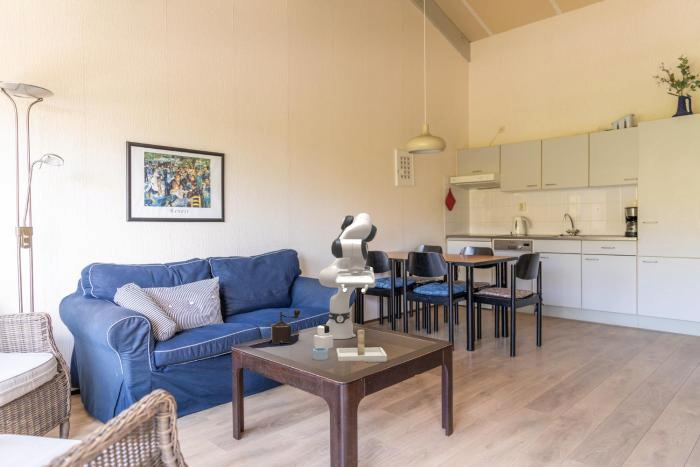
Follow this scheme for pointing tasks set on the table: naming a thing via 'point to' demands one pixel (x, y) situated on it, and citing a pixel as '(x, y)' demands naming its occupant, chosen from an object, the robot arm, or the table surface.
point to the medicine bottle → (323, 337)
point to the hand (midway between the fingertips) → (353, 292)
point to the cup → (320, 353)
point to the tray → (370, 355)
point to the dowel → (361, 343)
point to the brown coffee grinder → (282, 329)
